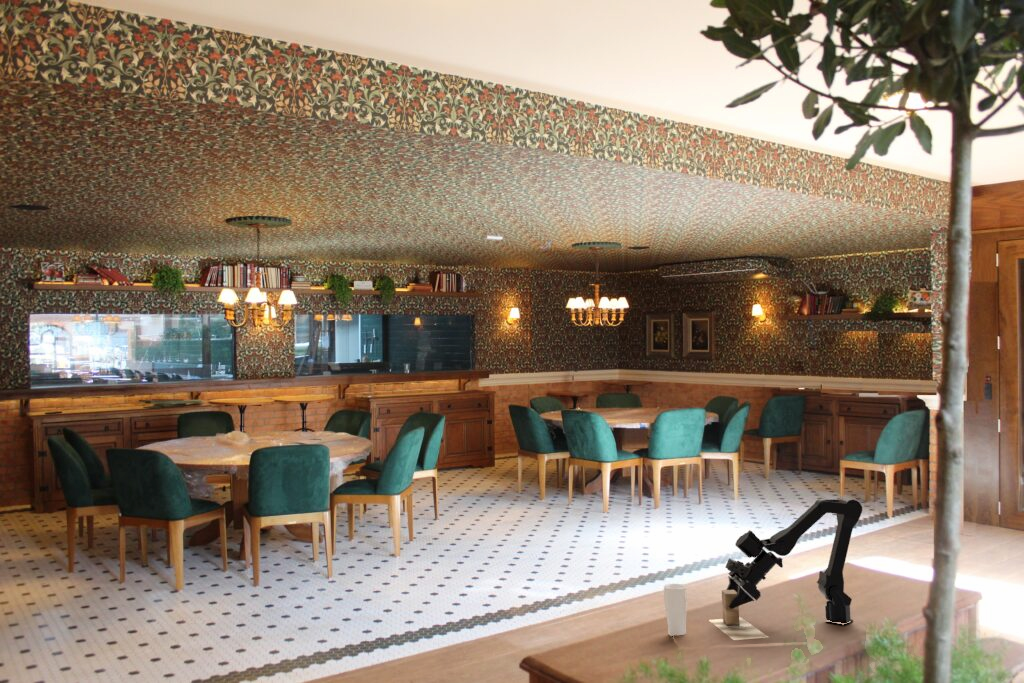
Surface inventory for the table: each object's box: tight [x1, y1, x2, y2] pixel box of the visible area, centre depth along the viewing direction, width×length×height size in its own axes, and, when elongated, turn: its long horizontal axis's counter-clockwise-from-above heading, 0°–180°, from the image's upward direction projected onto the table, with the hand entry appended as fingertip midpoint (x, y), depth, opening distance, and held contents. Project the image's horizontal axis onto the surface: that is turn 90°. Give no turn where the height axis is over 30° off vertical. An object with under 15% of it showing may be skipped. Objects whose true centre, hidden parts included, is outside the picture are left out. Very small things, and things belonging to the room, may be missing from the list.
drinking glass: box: [663, 583, 688, 638], centre depth 263 cm, size 7×7×15 cm
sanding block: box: [721, 589, 740, 626], centre depth 270 cm, size 4×5×10 cm
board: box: [708, 616, 770, 641], centre depth 265 cm, size 22×11×1 cm, turn 7°
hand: (726, 603), depth 270 cm, fingers open, 9 cm apart
